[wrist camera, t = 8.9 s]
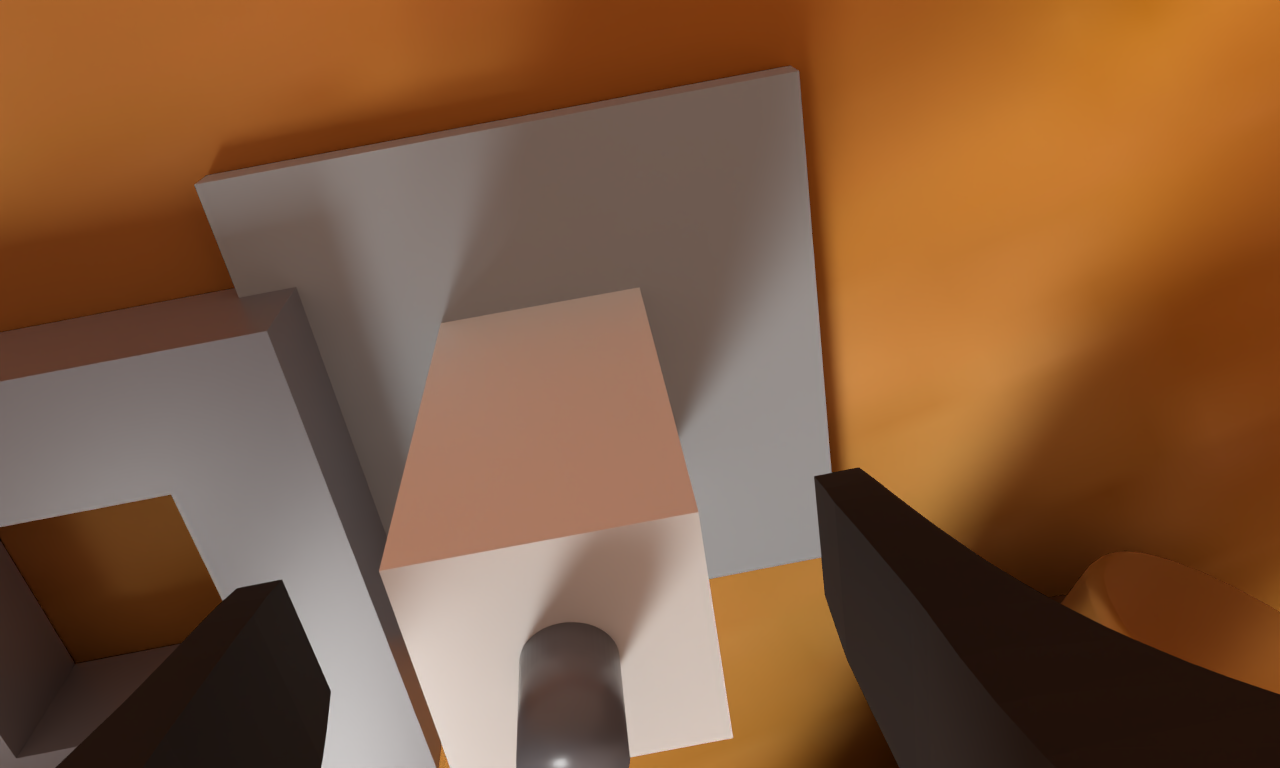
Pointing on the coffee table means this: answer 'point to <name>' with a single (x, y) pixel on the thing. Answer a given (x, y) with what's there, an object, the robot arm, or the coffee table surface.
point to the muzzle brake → (1182, 615)
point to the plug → (554, 546)
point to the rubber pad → (573, 276)
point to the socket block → (200, 507)
